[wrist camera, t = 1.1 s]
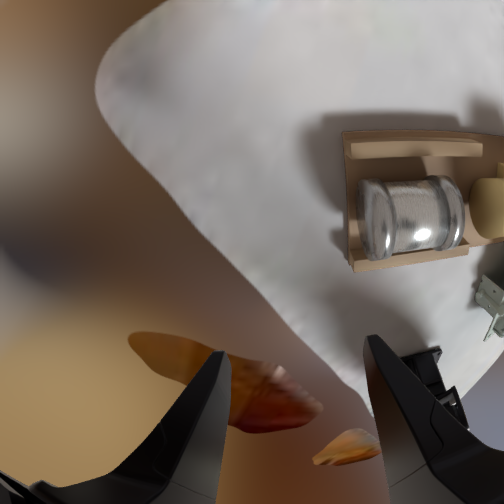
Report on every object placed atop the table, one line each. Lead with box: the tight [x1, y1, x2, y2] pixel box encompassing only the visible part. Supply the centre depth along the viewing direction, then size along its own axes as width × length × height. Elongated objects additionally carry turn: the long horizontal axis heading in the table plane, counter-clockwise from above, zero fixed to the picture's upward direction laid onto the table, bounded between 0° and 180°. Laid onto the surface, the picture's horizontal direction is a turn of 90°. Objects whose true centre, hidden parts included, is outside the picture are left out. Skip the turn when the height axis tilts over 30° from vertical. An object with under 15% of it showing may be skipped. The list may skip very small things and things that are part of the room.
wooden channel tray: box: [342, 130, 504, 272], centre depth 14 cm, size 10×18×7 cm, turn 101°
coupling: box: [356, 175, 465, 261], centre depth 16 cm, size 5×6×5 cm
